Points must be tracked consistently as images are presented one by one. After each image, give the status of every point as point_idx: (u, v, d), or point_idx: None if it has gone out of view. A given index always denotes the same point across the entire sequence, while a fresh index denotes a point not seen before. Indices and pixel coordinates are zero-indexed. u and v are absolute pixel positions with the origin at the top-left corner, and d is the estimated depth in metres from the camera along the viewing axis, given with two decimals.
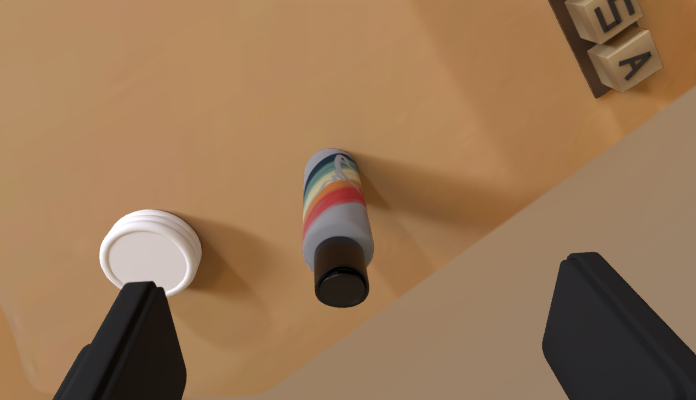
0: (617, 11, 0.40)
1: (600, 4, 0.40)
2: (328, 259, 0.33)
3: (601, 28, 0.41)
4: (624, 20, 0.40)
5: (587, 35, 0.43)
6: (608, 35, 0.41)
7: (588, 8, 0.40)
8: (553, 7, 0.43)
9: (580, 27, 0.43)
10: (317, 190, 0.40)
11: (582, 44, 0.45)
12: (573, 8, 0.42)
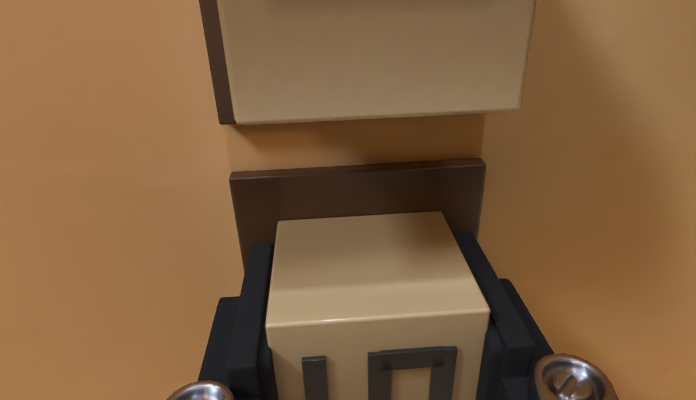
0: None
1: (337, 351, 0.08)
2: None
3: None
4: None
5: None
6: None
7: (280, 343, 0.08)
8: (236, 216, 0.11)
9: None
10: None
11: None
12: None
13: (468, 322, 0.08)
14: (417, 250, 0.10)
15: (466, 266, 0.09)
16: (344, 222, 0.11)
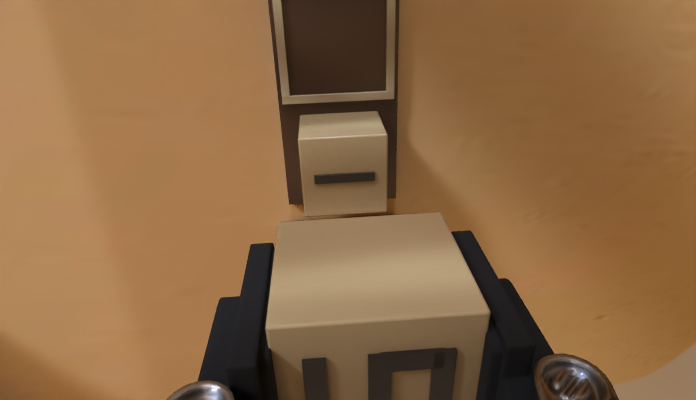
0: None
1: (336, 353, 0.08)
2: None
3: None
4: None
5: None
6: None
7: (280, 345, 0.08)
8: None
9: None
10: None
11: None
12: None
13: (468, 324, 0.08)
14: (418, 251, 0.10)
15: (466, 268, 0.09)
16: (344, 223, 0.11)
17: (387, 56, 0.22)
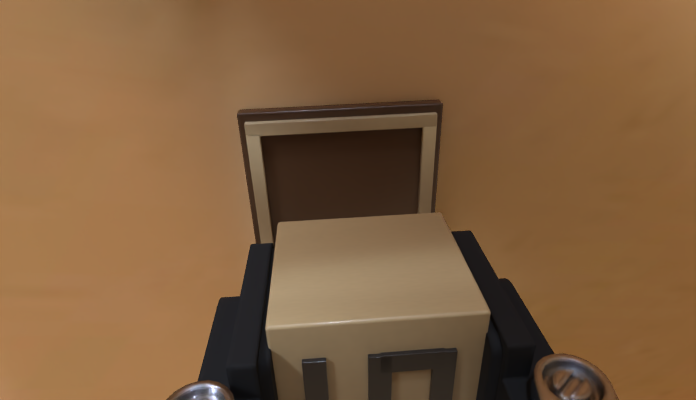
0: None
1: (337, 353, 0.08)
2: None
3: None
4: None
5: None
6: None
7: (280, 345, 0.08)
8: None
9: None
10: None
11: None
12: None
13: (468, 324, 0.08)
14: (418, 251, 0.10)
15: (466, 268, 0.09)
16: (344, 223, 0.11)
17: None
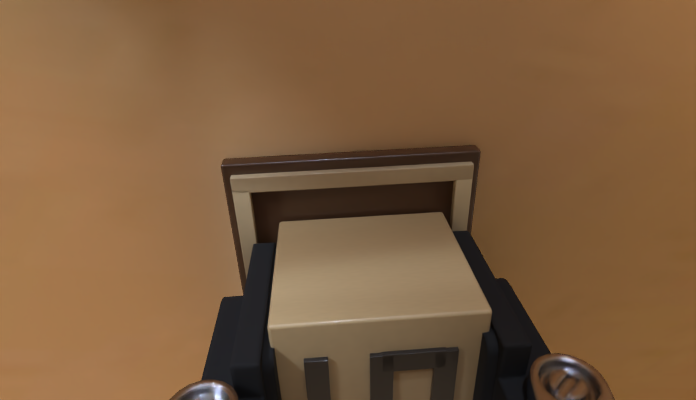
0: None
1: (339, 352, 0.08)
2: None
3: None
4: None
5: None
6: None
7: (281, 344, 0.08)
8: None
9: None
10: None
11: None
12: None
13: (470, 323, 0.08)
14: (419, 251, 0.10)
15: (468, 267, 0.09)
16: (346, 223, 0.11)
17: None
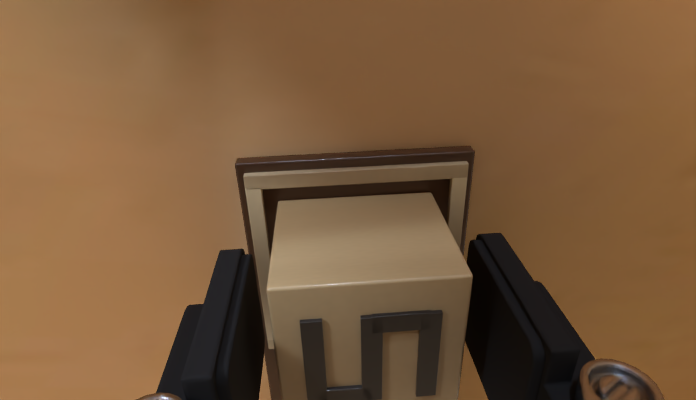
0: (383, 365, 0.10)
1: (332, 314, 0.09)
2: None
3: (305, 386, 0.10)
4: (393, 398, 0.10)
5: None
6: None
7: (279, 306, 0.09)
8: None
9: None
10: None
11: None
12: None
13: (452, 287, 0.09)
14: (408, 225, 0.11)
15: (452, 239, 0.10)
16: (340, 201, 0.12)
17: None
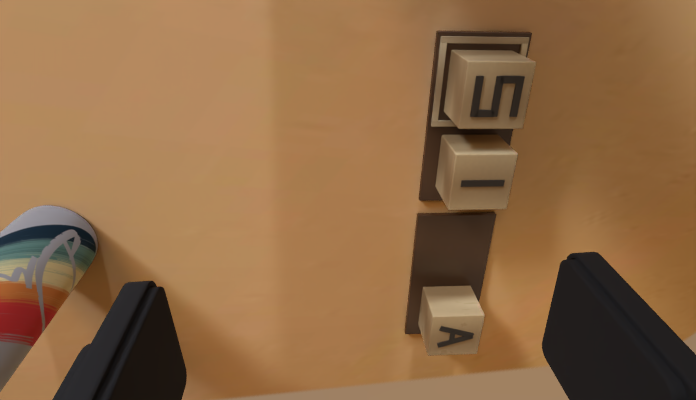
0: (500, 100, 0.27)
1: (487, 74, 0.26)
2: None
3: (470, 108, 0.27)
4: (500, 118, 0.28)
5: (451, 110, 0.29)
6: (472, 123, 0.28)
7: (470, 69, 0.26)
8: (417, 227, 0.35)
9: (449, 94, 0.30)
10: None
11: (422, 278, 0.38)
12: (456, 62, 0.28)
13: (529, 66, 0.26)
14: (508, 55, 0.28)
15: (526, 57, 0.27)
16: (477, 50, 0.29)
17: None
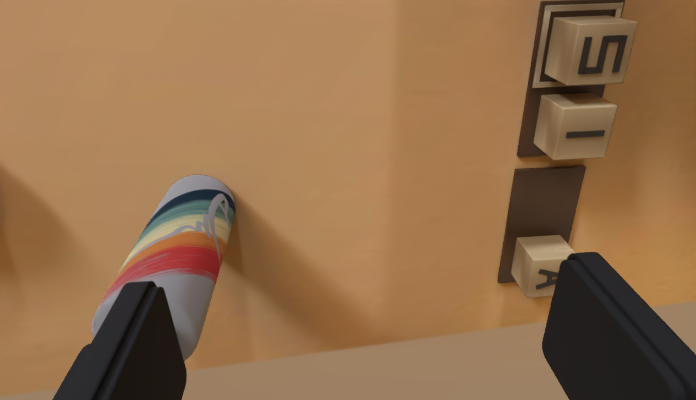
0: (604, 58, 0.31)
1: (595, 35, 0.30)
2: None
3: (578, 66, 0.31)
4: (604, 74, 0.32)
5: (555, 70, 0.33)
6: (579, 79, 0.32)
7: (581, 31, 0.30)
8: (514, 181, 0.39)
9: (553, 57, 0.34)
10: (168, 232, 0.29)
11: (516, 229, 0.42)
12: (561, 27, 0.32)
13: (631, 26, 0.30)
14: (608, 18, 0.32)
15: (625, 19, 0.31)
16: (577, 17, 0.33)
17: None
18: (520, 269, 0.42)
